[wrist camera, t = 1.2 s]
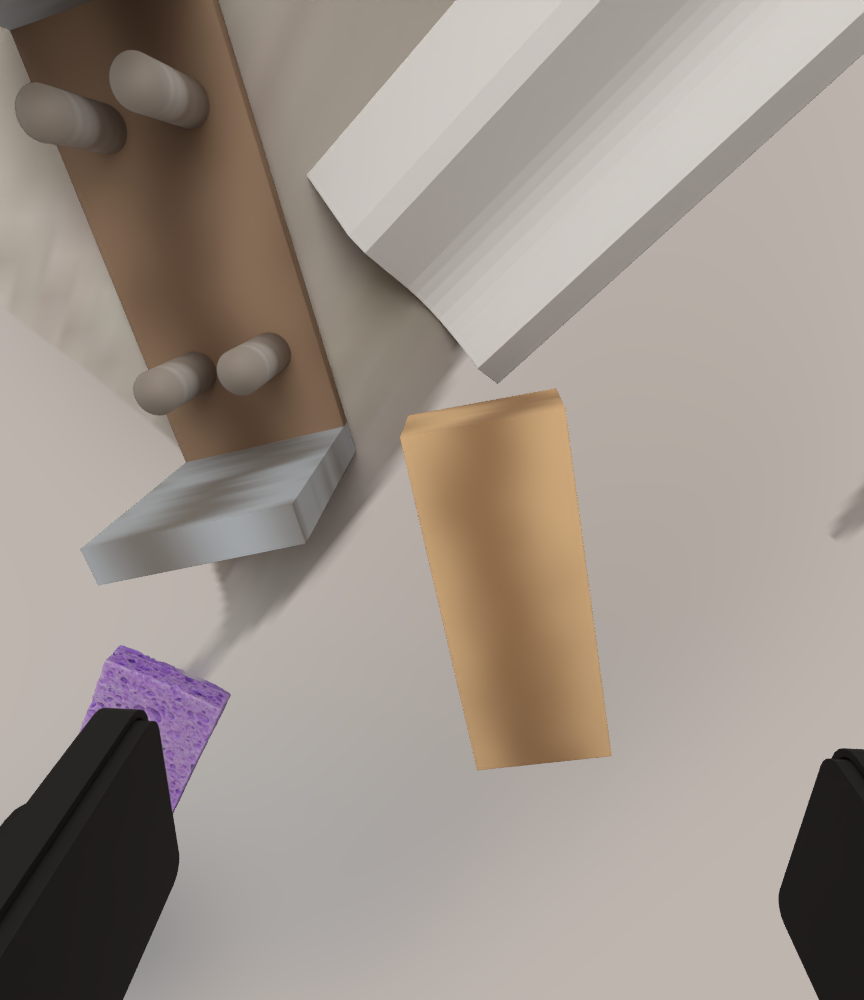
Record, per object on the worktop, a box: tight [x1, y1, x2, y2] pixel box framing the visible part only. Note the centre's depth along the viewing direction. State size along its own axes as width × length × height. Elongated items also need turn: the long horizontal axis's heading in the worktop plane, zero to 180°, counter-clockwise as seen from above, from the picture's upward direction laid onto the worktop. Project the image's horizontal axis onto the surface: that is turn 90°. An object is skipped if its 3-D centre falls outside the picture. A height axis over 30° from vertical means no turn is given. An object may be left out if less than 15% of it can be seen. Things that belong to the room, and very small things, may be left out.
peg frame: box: [0, 0, 356, 585], centre depth 24 cm, size 8×21×10 cm, turn 14°
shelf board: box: [400, 389, 611, 770], centre depth 28 cm, size 6×16×3 cm, turn 12°
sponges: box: [78, 645, 231, 813], centre depth 40 cm, size 7×13×2 cm, turn 153°
